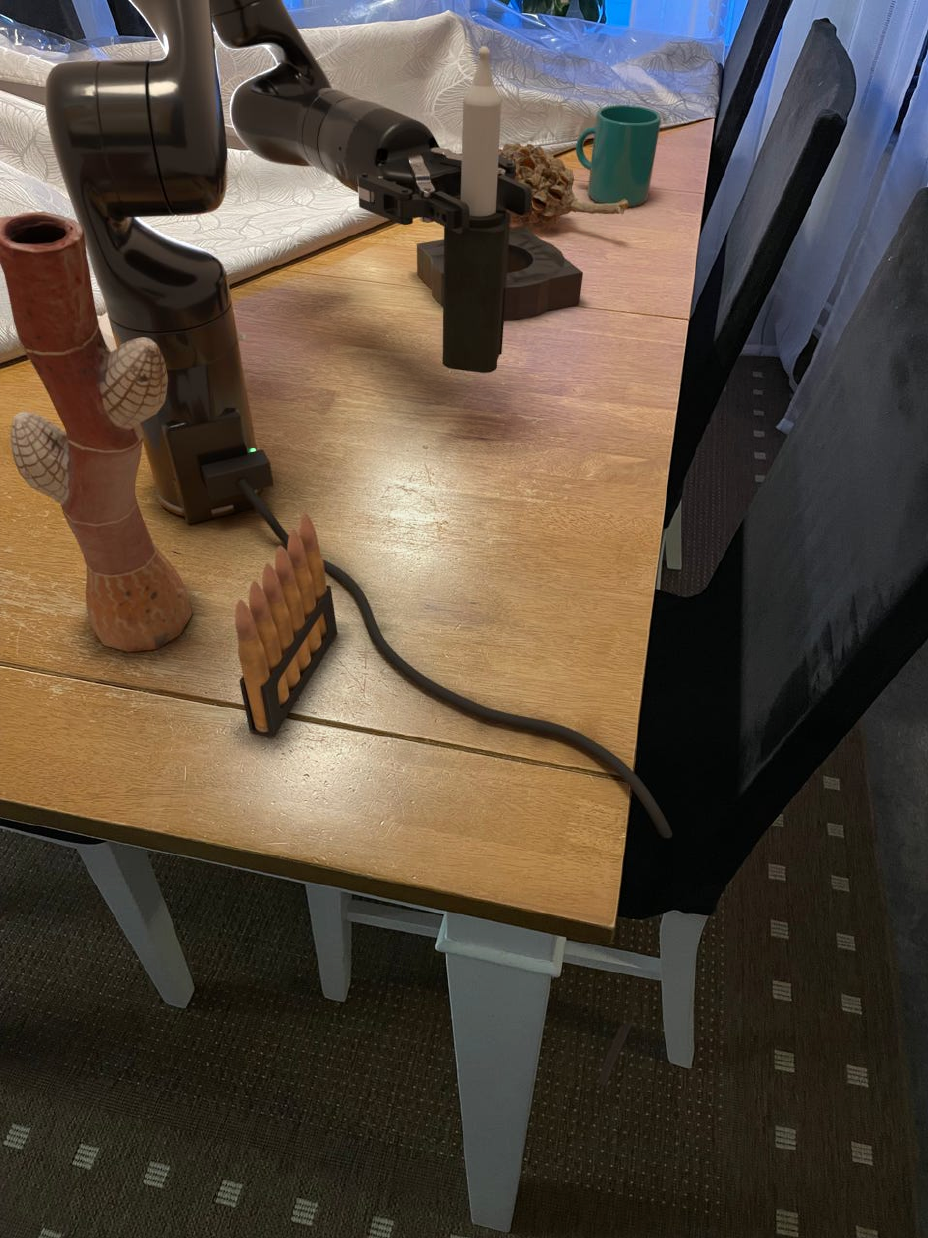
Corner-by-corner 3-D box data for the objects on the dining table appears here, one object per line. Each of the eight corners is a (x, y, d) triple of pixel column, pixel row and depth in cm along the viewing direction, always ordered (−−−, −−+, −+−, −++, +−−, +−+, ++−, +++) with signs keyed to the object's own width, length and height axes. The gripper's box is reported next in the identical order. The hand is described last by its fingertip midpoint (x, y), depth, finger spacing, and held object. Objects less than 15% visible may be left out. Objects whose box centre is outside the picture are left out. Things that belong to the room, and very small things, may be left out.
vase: (67, 633, 66) (-108, 227, 45) (127, 573, 71) (-4, 180, 50) (185, 675, 63) (60, 264, 42) (240, 609, 68) (152, 212, 47)
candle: (494, 374, 80) (513, 57, 62) (440, 367, 81) (443, 51, 63) (503, 347, 84) (524, 40, 66) (451, 341, 84) (457, 35, 66)
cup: (585, 178, 137) (594, 97, 129) (656, 194, 133) (670, 111, 125) (559, 195, 131) (567, 112, 123) (633, 213, 127) (646, 128, 119)
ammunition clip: (273, 739, 60) (246, 614, 51) (248, 732, 60) (218, 607, 51) (338, 632, 67) (324, 507, 58) (315, 626, 67) (298, 501, 59)
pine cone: (467, 225, 123) (469, 148, 116) (495, 202, 129) (498, 128, 122) (617, 256, 116) (629, 177, 109) (639, 231, 122) (651, 154, 115)
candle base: (585, 305, 106) (589, 273, 103) (465, 330, 101) (466, 296, 98) (523, 253, 116) (525, 223, 113) (411, 274, 111) (410, 242, 108)
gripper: (305, 121, 74) (427, 180, 65) (440, 94, 80) (567, 144, 71) (314, 213, 79) (427, 279, 70) (439, 181, 86) (557, 237, 77)
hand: (497, 211), depth 71 cm, fingers closed on candle, 6 cm apart
